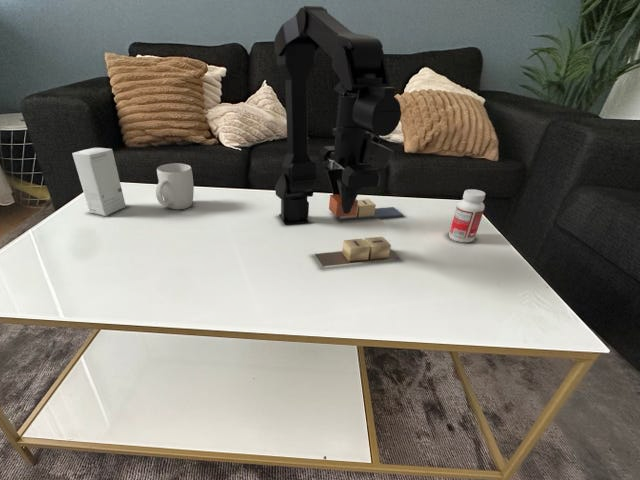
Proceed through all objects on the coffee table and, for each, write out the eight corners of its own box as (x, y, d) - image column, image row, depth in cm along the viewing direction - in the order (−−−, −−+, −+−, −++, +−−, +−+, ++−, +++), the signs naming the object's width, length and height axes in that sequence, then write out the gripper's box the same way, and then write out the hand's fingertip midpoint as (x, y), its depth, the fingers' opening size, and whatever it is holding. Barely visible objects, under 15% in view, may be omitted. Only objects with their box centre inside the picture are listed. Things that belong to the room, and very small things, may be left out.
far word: (340, 221, 107) (342, 208, 105) (333, 213, 112) (334, 200, 109) (402, 216, 111) (405, 203, 109) (392, 209, 115) (395, 195, 113)
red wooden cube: (335, 217, 83) (337, 201, 81) (328, 209, 86) (330, 194, 84) (356, 215, 84) (358, 200, 82) (348, 207, 87) (350, 193, 85)
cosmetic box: (105, 216, 107) (89, 155, 97) (88, 213, 109) (70, 152, 99) (127, 206, 113) (113, 147, 103) (110, 203, 114) (94, 145, 105)
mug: (176, 198, 119) (170, 161, 112) (202, 203, 116) (197, 165, 109) (148, 212, 110) (140, 173, 103) (175, 218, 107) (169, 178, 101)
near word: (322, 268, 87) (324, 252, 85) (314, 256, 92) (315, 240, 89) (398, 260, 91) (402, 245, 88) (387, 249, 95) (390, 234, 93)
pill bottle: (470, 233, 103) (484, 188, 96) (477, 243, 98) (493, 197, 91) (445, 232, 103) (458, 187, 96) (451, 242, 99) (465, 196, 92)
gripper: (415, 134, 69) (397, 223, 79) (372, 114, 83) (361, 192, 93) (354, 136, 67) (344, 228, 77) (320, 115, 81) (315, 195, 91)
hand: (342, 209), depth 85 cm, fingers closed on red wooden cube, 4 cm apart
